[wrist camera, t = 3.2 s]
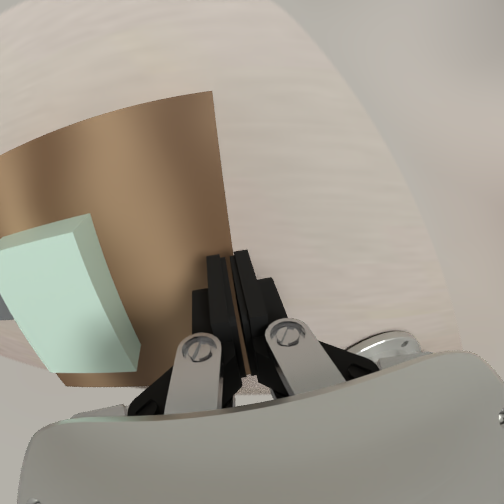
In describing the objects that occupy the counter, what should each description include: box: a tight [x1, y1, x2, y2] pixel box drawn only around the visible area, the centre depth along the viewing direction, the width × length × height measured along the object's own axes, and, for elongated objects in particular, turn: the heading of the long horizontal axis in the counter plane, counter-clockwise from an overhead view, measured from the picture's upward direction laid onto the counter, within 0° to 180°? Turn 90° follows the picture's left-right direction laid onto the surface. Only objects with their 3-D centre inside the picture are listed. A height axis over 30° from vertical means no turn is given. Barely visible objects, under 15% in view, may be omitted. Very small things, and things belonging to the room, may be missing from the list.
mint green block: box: [0, 213, 141, 373], centre depth 12 cm, size 6×8×2 cm
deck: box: [0, 91, 251, 387], centre depth 15 cm, size 14×16×4 cm
